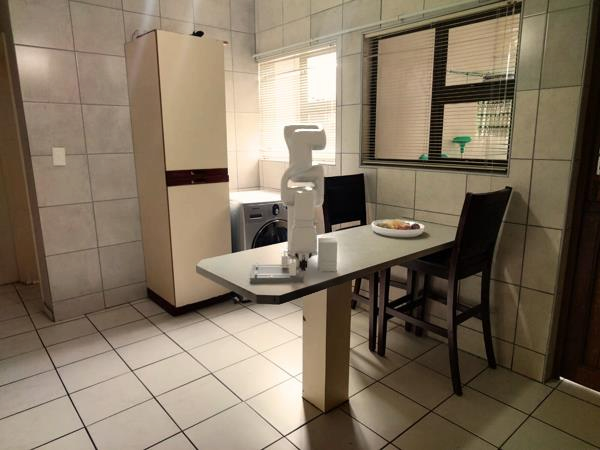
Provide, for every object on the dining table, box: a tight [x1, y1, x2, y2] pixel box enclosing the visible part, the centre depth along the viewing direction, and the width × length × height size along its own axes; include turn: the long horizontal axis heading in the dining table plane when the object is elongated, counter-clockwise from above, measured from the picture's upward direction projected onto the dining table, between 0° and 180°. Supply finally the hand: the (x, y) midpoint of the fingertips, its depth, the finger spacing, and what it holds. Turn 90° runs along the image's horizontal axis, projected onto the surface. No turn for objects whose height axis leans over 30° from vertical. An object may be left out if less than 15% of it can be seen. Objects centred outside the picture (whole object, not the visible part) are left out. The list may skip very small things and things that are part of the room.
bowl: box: [371, 218, 425, 238], centre depth 235 cm, size 30×30×8 cm
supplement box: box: [317, 237, 338, 272], centre depth 167 cm, size 7×7×13 cm
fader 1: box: [281, 251, 289, 268], centre depth 163 cm, size 5×2×5 cm, turn 4°
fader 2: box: [288, 258, 297, 276], centre depth 154 cm, size 5×2×5 cm, turn 3°
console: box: [249, 262, 304, 284], centre depth 159 cm, size 16×20×3 cm
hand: (303, 269), depth 155 cm, fingers closed
